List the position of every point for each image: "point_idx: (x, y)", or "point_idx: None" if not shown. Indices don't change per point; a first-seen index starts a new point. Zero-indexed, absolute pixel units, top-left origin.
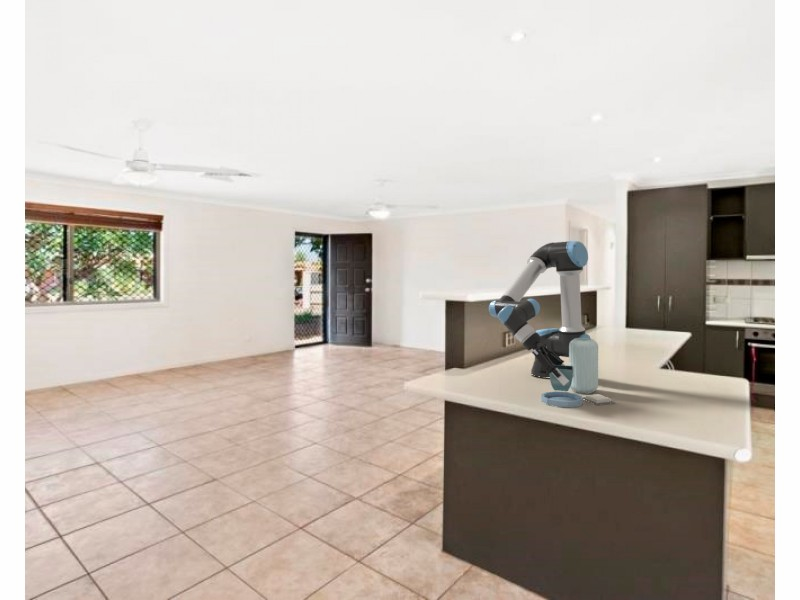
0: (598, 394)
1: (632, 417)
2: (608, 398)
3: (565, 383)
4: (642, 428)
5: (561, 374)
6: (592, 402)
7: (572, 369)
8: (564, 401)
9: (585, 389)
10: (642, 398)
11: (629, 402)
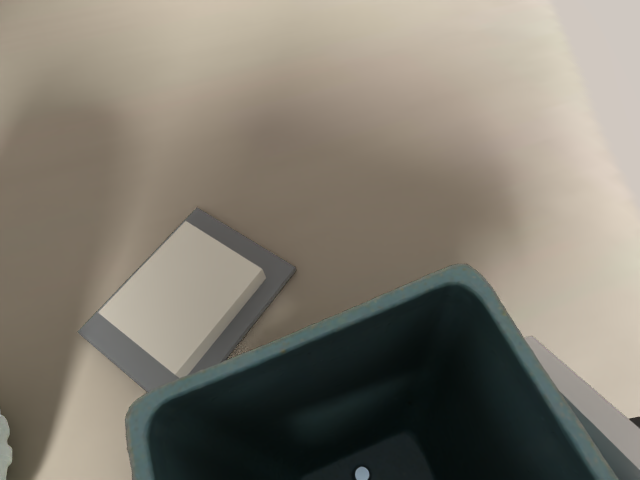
0: (109, 310)
1: (409, 89)
2: (189, 229)
3: None
4: (534, 30)
5: (610, 416)
6: (266, 305)
7: (432, 286)
8: None
9: (5, 435)
10: (28, 151)
11: (140, 169)
